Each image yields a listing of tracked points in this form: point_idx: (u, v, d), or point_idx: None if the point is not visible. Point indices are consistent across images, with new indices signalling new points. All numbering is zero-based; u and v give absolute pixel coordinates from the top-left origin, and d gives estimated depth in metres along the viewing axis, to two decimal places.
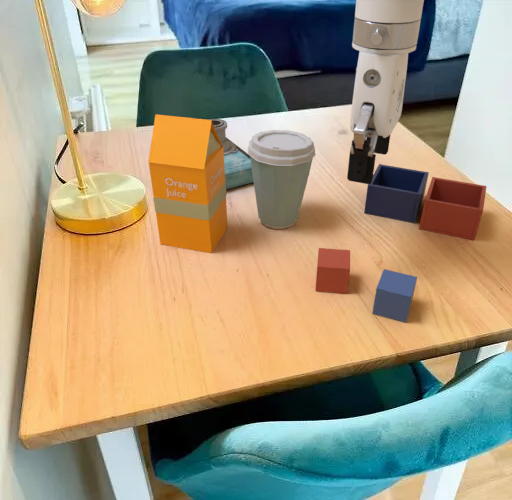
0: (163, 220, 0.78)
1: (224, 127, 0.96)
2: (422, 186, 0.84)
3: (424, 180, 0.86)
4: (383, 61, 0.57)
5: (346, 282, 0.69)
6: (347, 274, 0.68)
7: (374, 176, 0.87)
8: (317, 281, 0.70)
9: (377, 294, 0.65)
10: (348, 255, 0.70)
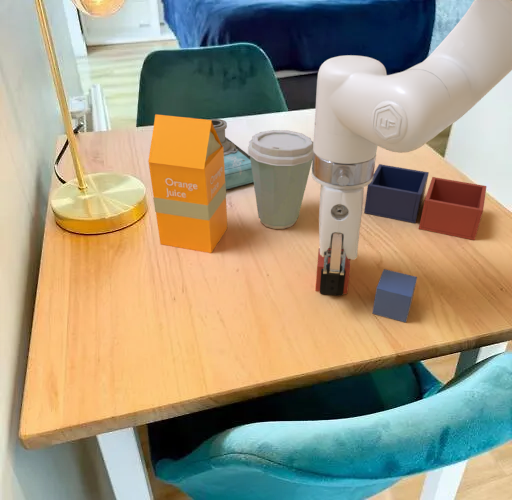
0: (163, 221, 0.78)
1: (224, 127, 0.96)
2: (422, 186, 0.84)
3: (424, 180, 0.86)
4: (350, 197, 0.59)
5: (346, 282, 0.69)
6: (347, 274, 0.68)
7: (374, 176, 0.87)
8: (317, 281, 0.70)
9: (377, 294, 0.65)
10: None
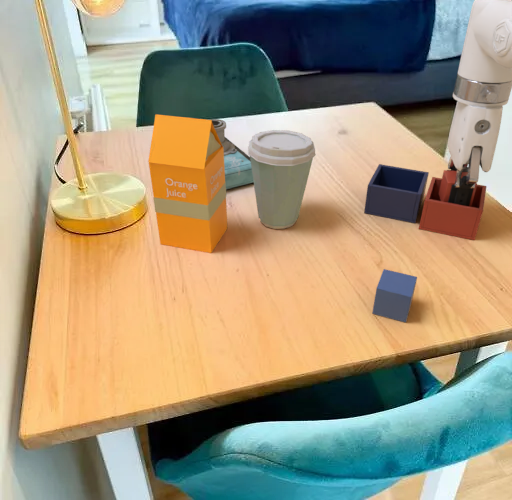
0: (163, 220, 0.78)
1: (223, 127, 0.96)
2: (422, 186, 0.84)
3: (424, 180, 0.86)
4: (493, 113, 0.70)
5: (471, 197, 0.80)
6: (474, 189, 0.79)
7: (374, 176, 0.87)
8: (445, 197, 0.80)
9: (377, 294, 0.65)
10: None
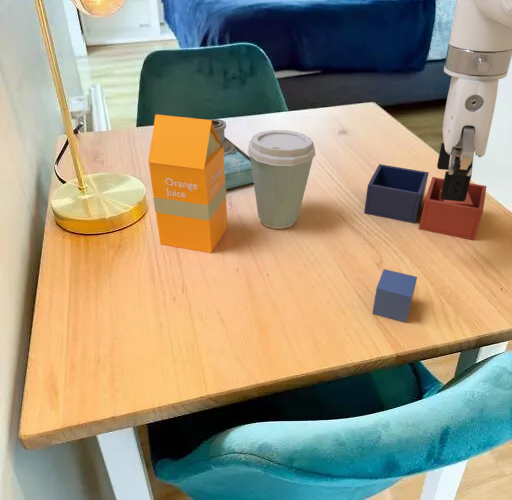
0: (163, 220, 0.78)
1: (223, 127, 0.96)
2: (422, 186, 0.84)
3: (424, 180, 0.86)
4: (486, 87, 0.60)
5: None
6: None
7: (374, 176, 0.87)
8: None
9: (377, 294, 0.65)
10: (467, 194, 0.83)
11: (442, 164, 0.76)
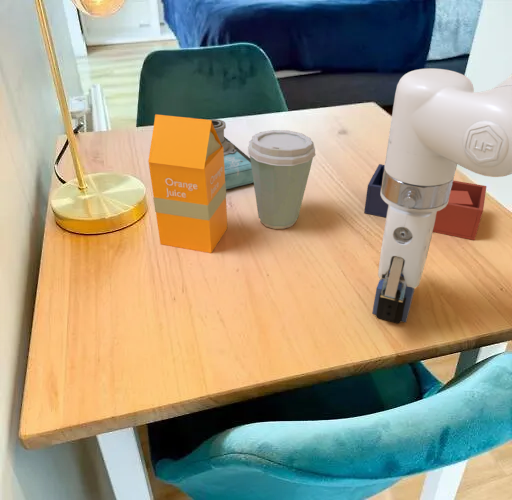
0: (163, 221, 0.78)
1: (222, 128, 0.96)
2: None
3: None
4: (415, 221, 0.54)
5: None
6: None
7: (374, 176, 0.87)
8: None
9: (377, 294, 0.65)
10: (467, 194, 0.83)
11: None
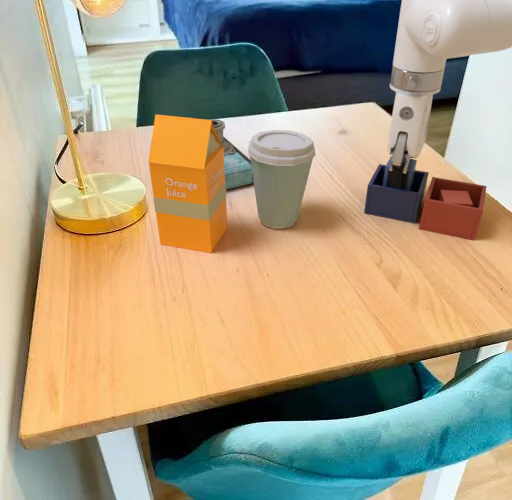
0: (163, 221, 0.78)
1: (221, 128, 0.96)
2: (422, 186, 0.84)
3: (424, 180, 0.86)
4: (415, 101, 0.74)
5: None
6: None
7: (374, 176, 0.87)
8: None
9: (386, 171, 0.84)
10: (467, 194, 0.83)
11: None
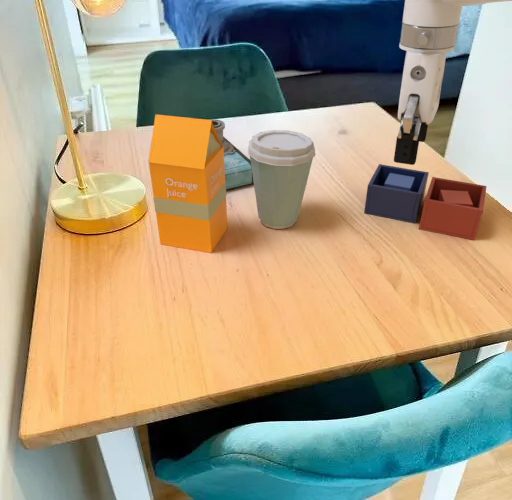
0: (163, 221, 0.78)
1: (221, 128, 0.96)
2: (422, 186, 0.84)
3: (424, 180, 0.86)
4: (428, 59, 0.68)
5: None
6: None
7: (374, 176, 0.87)
8: None
9: None
10: (467, 194, 0.83)
11: None
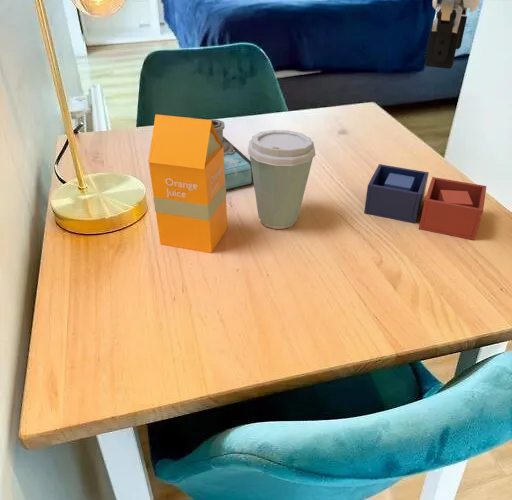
0: (163, 221, 0.78)
1: (221, 128, 0.96)
2: (422, 186, 0.84)
3: (424, 180, 0.86)
4: None
5: None
6: None
7: (374, 176, 0.87)
8: None
9: None
10: (467, 194, 0.83)
11: None
